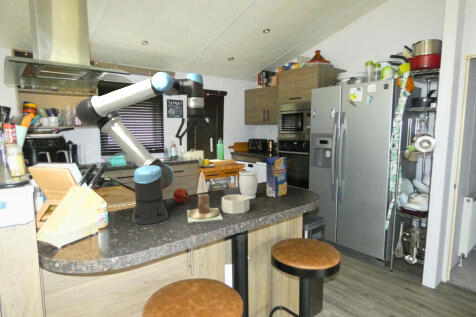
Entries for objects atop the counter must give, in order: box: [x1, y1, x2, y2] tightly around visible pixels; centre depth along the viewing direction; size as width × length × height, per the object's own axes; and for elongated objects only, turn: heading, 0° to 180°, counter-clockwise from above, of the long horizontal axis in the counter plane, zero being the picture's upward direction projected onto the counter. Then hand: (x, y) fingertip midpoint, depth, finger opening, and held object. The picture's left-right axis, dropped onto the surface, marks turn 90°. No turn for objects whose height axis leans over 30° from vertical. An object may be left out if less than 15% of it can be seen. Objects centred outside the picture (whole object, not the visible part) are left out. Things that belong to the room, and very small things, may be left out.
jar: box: [238, 170, 258, 200], centre depth 156 cm, size 11×10×15 cm
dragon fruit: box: [172, 187, 191, 205], centre depth 148 cm, size 8×8×12 cm
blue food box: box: [265, 156, 288, 198], centre depth 161 cm, size 7×11×22 cm, turn 134°
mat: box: [186, 207, 224, 224], centre depth 125 cm, size 15×17×1 cm
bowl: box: [221, 194, 250, 215], centre depth 133 cm, size 13×13×6 cm
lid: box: [187, 193, 220, 219], centre depth 125 cm, size 14×14×9 cm
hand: (197, 152), depth 131 cm, fingers open, 13 cm apart
